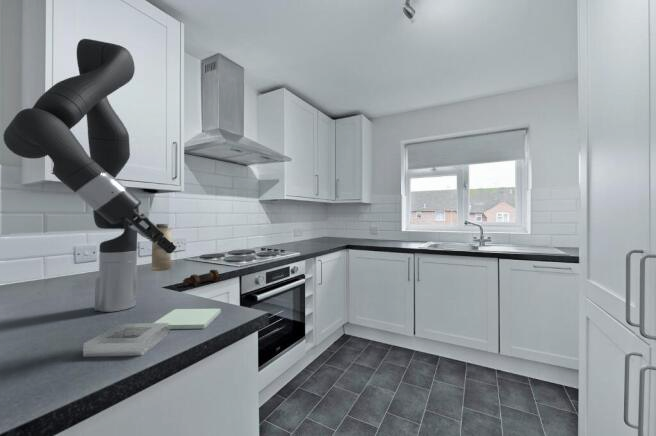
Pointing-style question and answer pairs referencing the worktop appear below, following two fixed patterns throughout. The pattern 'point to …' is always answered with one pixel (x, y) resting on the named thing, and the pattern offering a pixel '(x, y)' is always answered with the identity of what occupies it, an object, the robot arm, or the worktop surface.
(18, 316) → the worktop surface
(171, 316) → the set down board
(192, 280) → the bolt
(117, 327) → the grey square frame
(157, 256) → the key peg
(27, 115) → the robot arm
